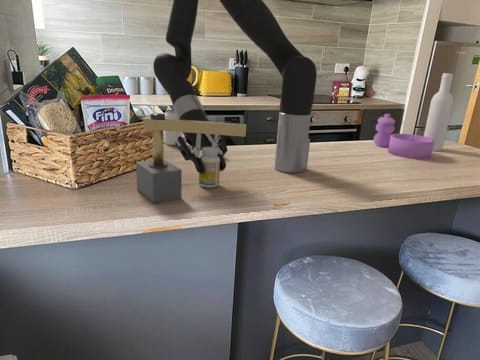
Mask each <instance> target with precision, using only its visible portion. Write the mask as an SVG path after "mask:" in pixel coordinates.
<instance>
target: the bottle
mask: <svg viewBox="0 0 480 360" xmlns="http://www.w3.org/2000/svg"><path fill="white" fill-rule="evenodd" d="M453 79H454V74H453V73H446V72H443V73H442V76H441V81H440V86H439V89H438V91H437V92H436V93H435V94H434V95H433V96H432V98H431V101H430V105H429V110H428V113H427V120H426V124H425V128H424V133H423V134H424V135H423V136H424V137H428V138H431V139H433V140H434V145H433V150H432V152H442V151H443V147H444V144H445V139H446V134H447V130H448V125H449V122H450V117H451V113H452V109H453V105H454V104H453V103H454V99H453V95H452V94H451V93H450V90H451V86H452V82H453Z"/></svg>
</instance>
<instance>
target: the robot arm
mask: <svg viewBox="0 0 480 360" xmlns="http://www.w3.org/2000/svg"><path fill="white" fill-rule="evenodd" d="M219 2H220V4H221V5H222V6H223V7H224V9H225V10H226V12H227V13H228V15H229V16H230V17H231V18H232V20H233V22H235V24H236V26H238V27H239V28H240V29H241V31H242V32H243V33H244V34H245V35H246V36H247V37H248V38H249V39H250V41H252V42H253V43H254V44H255V45H256V46H257V47H258V48H259V49H260V50H261V51H262V52H263V53H264V54H265V55H266V56H267V58H269V60H270V61H271V63H272V64H273V65H274V66H275V69H277V71H278V73H279V74H280V76H281V77H282V84H281V85H282V86H281V93H280V94H281V95H280V102H279V113H278V125H277V137H276V148H275V158H274V160H275V161H274V169H275V170H277V171H279V172H282V173H288V174H291V173H292V174H297V173H303V172H305V170H308V164H309V163H308V161H309V154H310V144H311V139H310V138H309V133H310V124H311V116H312V115H311V113H312V107H313V104H314V99H315V93H316V84H317V74H318V72H317V67H316V65H315V62H314V61H313V60H312V59H311V58H309V57H307V56H305V55H303V54H302V53H301V52H300V51H299V50H298V49H297V48H296V46H294V44H293V43H291V41H290V40H289V38H288V37H287V36H286V34H285V33H284V31H283V30H282V28H281V25H280V24H279V22H278V21H277V19H276V17H275V15H274V14H273V12H272V11H271V10H270V8H269V7H268V6H267V4H266V3H265V2H264V0H219ZM171 5H172V6H171V11H170V15H169V18H168V19H169V20H168V24H167V29H166V33H165V34H166V35H165V41H166V42H167V44H168V45H170V46H171V47H173V49H174V54H175V55H174V54H171V53H167V52H162V53H159V54H158V55H156V57H155V58H154V61H153V67H152V68H153V72H154V75H155V77H156V79H157V80H158V82H159V84H160V85H161V86H162V87H163V89H164V91H165V92H166V93H167V94H168V96H169V98H170V101H171V103H172V106H173V108H174V109H173V110H175V114H176V117H177V119H179V120H193V121H207V122H210V121H209V119H208V117H207V113H206V112H205V108H204V107H203V104H202V103H201V101H200V99H199V97H198V95H197V93H196V90H195V87H194V86H193V84H192V83H191V82H190V81H189V80H188V79H189V78H190V75H191V73H192V65H193V64H192V40H193V35H194V31H195V26H196V22H197V15H198V8H199V7H198V6H199V0H173V1H172V4H171ZM225 136H226V135H216V134H202V133H189V132H182V137H181V136H179V137H178V139H177V141H176V142H175V144H176V145H175V146H176V148H177V150H179V152H180V154H181V155H182V157H183V159H184V160H185V161H186V162H187V161H188V162H189V161H191V162H192V163H193V164H194V167H195V169H196V172H197V173H198V174H199V173H200V174H203V173H204V172H205V167H204V165H203V162H202V160H201V158H200V153H201V152H200V151H202V148H204V147H211V146H212V147H214V148H217V149H218V155H217V156H218V157H219V158H220V172H224V170H225V169H226V167H227V163H226V161H225V158H224V156H225V155H226V153H227V152H228V146H227V143H226V137H225ZM214 139H215V140H216V142H215V141H214ZM217 143H218V144H217ZM187 144H188V145H189V146H190V147H191V149H190V148H189V146H188V145H187Z"/></svg>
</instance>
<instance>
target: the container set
mask: <svg viewBox="0 0 480 360" xmlns="http://www.w3.org/2000/svg"><path fill="white" fill-rule="evenodd" d="M395 123H396V120H395V119H394V118H392V117H391V113H384V115H383V116H381V117H379V118H377V124H376V125H375V130H376V131H377V133H375V135H374V136H373V143H374V145H375V146H376V147H380V148H387V152H388V153H389V154H390V155H392V156H396V157H399V158H404V159H413V160H429V159H431V158H432V154H433V151H432V150H433V145H434V140H433V139H431V138H428V137H424V135H418V134H409V133H394V131H395ZM392 133H393V134H392Z"/></svg>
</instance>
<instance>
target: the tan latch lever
mask: <svg viewBox="0 0 480 360" xmlns="http://www.w3.org/2000/svg"><path fill="white" fill-rule="evenodd" d="M142 121H143V125H142V126H143V127H142V129H143V130H149V131H152V160H153V166H156V167H161V166H163V165H164V160H165V158H164V131H175V132H182V133H183V132H189V133H202V134H216V135H224V136H229V137H230V136H231V137H243V138H244V137H246V135H247V124H246V123H234V122H233V123H232V122H219V121H218V122H217V121H209V122H207V121H193V120H179V119H165V113H163V112H162V113H161V112H154V113H153V112H152V113H150V115H149V116H146V117H143V118H142Z"/></svg>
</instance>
